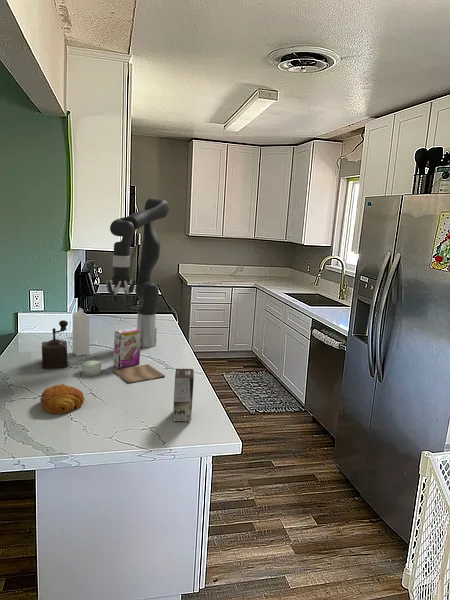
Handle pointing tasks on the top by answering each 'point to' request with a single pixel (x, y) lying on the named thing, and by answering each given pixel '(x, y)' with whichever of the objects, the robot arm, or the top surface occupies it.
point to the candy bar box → (127, 347)
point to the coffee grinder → (55, 351)
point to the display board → (138, 373)
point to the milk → (80, 333)
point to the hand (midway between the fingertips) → (120, 302)
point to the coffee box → (183, 394)
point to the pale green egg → (91, 368)
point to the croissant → (61, 399)
